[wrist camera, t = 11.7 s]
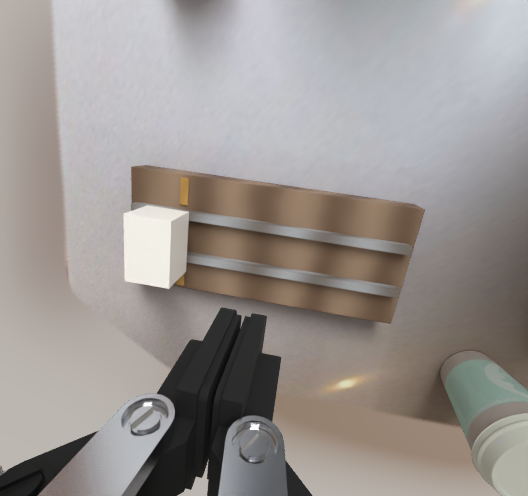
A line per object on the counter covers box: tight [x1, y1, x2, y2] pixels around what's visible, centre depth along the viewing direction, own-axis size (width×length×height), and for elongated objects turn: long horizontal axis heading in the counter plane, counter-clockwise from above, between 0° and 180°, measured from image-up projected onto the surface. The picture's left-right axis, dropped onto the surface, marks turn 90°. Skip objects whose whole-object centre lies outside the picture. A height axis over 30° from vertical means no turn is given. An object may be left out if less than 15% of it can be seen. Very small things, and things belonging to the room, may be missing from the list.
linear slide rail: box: [131, 165, 425, 324], centre depth 32 cm, size 28×12×4 cm, turn 83°
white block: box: [124, 205, 189, 289], centre depth 28 cm, size 4×6×6 cm, turn 173°
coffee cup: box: [440, 351, 528, 496], centre depth 30 cm, size 8×8×12 cm
